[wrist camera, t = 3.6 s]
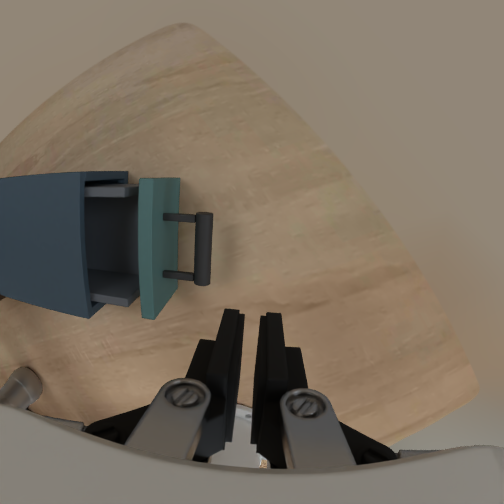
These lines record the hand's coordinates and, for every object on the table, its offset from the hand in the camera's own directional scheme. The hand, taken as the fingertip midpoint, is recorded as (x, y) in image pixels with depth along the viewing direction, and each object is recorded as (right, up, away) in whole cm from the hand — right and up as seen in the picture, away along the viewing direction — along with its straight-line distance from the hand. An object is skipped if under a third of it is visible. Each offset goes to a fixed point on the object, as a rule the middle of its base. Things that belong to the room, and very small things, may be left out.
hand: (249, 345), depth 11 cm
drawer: (-11, +6, +18) cm, 22 cm away
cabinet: (-20, +6, +19) cm, 28 cm away
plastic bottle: (-39, -19, +26) cm, 51 cm away
